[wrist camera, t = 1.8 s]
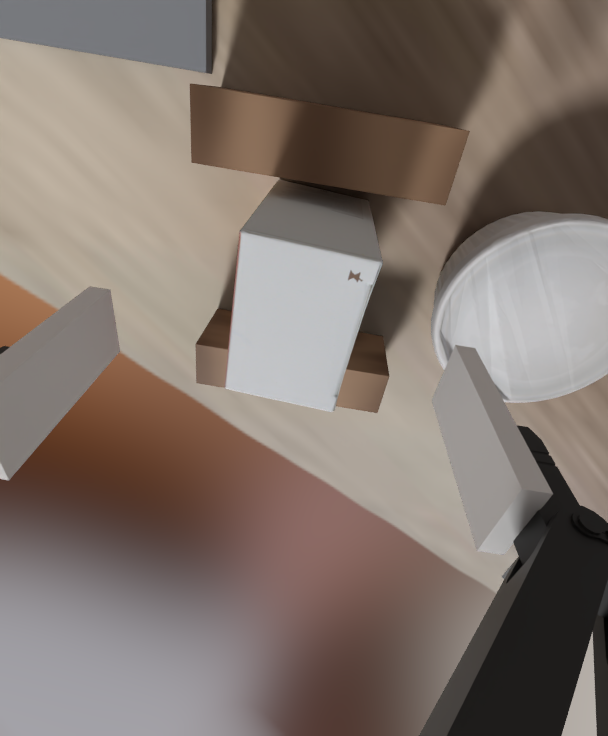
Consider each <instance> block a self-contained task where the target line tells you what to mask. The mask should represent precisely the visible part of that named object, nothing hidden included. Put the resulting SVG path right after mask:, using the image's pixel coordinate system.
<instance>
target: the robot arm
mask: <svg viewBox="0 0 608 736" xmlns="http://www.w3.org/2000/svg"><path fill="white" fill-rule="evenodd" d="M119 352H120V347H119V341H118V335H117V329H116V322H115V316H114V310H113V304H112V297H111V291H110V290H109V289H103V288H97V287H91V286H90V287H88V288H87V289H86V290H84V291H83V292H82V293H80V294H79V295H78V296H76V297H75V298H74V299H73V300H71V301H70V302H69V303H67V304H66V305H65V306H63V307H62V308H61V309H59V310H58V311H57V312H56V313H54V314H53V315H52V316H50V317H49V318H48V319H46V320H45V321H44V322H42V323H41V324H40V325H38V326H37V327H36V328H34V329H33V330H32V331H31V332H29V333H28V334H27V335H25V336H24V337H23V338H21V339H20V340H19V341H17V342H16V343H15V344H14V345H12V346H11V347H6V346H3V347H1V348H0V479H4V480H9V479H10V478H11V477H12V476H13V475H14V474H15V472H16V471H17V470H18V469H19V468H20V467H21V466H22V464H23V463H24V462H25V461H26V460H27V459H28V457H29V456H30V455H31V454H32V453H33V451H34V450H35V449H36V448H37V447H38V445H40V443H41V442H42V441H43V440H44V439H45V438H46V436H47V435H48V434H49V433H50V432H51V431H52V430H53V428H54V427H55V426H56V425H57V424H58V423H59V421H60V420H61V419H62V418H63V417H64V416H65V414H66V413H67V412H68V411H69V410H70V409H71V407H72V406H73V405H74V404H75V403H76V401H78V399H79V398H80V397H81V396H82V395H83V394H84V392H85V391H86V390H87V389H88V388H89V387H90V385H91V384H92V383H93V382H94V381H95V379H96V378H97V377H98V376H99V375H100V374H101V373H102V372H103V370H104V369H105V368H106V367H107V366H108V365H109V363H110V362H111V361H112V360H113V359H114V358H115V356H116V355H117V354H118V353H119ZM432 403H433V406H434V409H435V413H436V416H437V419H438V423H439V426H440V429H441V433H442V436H443V439H444V443H445V446H446V449H447V453H448V456H449V459H450V463H451V466H452V469H453V473H454V476H455V479H456V483H457V486H458V489H459V493H460V496H461V499H462V503H463V506H464V509H465V512H466V516H467V519H468V522H469V526H470V529H471V532H472V536H473V539H474V542H475V546H476V549H477V551H481V552H488V553H494V554H501V555H504V554H505V553H506V552H507V550H508V549H509V548H510V547H511V545H512V544H513V543H514V545H515V547H516V550H517V553H518V555H519V557H518V558H517V559H516V560H515V562H514V563H513V564H512V565H511V566H510V567H509V569H508V570H507V571H506V572H505V573H504V575H503V576H502V577H503V578H504V581H503V583H502V585H501V587H500V589H499V590H498V592H497V594H496V596H495V598H494V600H493V601H492V603H491V605H490V607H489V609H488V610H487V612H486V614H485V616H484V618H483V620H482V621H481V623H480V625H479V627H478V629H477V631H476V633H475V634H474V636H473V638H472V640H471V642H470V643H469V645H468V647H467V649H466V651H465V653H464V655H463V656H462V658H461V660H460V662H459V664H458V666H457V667H456V669H455V671H454V673H453V675H452V677H451V678H450V680H449V682H448V684H447V686H446V687H445V690H444V691H443V693H442V695H441V697H440V699H439V700H438V702H437V704H436V706H435V708H434V709H433V711H432V713H431V715H430V717H429V719H428V720H427V722H426V724H425V726H424V728H423V730H422V731H421V733H420V735H419V736H561V735H562V731H563V728H564V725H565V721H566V718H567V715H568V711H569V708H570V705H571V701H572V698H573V694H574V691H575V688H576V684H577V681H578V678H579V674H580V671H581V668H582V664H583V661H584V657H585V654H586V651H587V648H588V644H589V641H590V637H591V634H592V631H593V647H594V673H595V695H596V696H595V697H596V720H597V736H608V523H607V522H606V521H605V520H604V519H603V518H602V517H600V516H599V515H598V514H596V513H595V512H594V511H592V510H590V509H588V508H586V507H584V506H580V505H579V503H578V502H577V500H576V498H575V497H574V495H573V493H572V492H571V490H570V488H569V486H568V485H567V483H566V481H565V480H564V478H563V476H562V474H561V473H560V471H559V469H558V468H557V467H556V466H555V462H554V461H553V459H552V457H551V456H549V452H548V450H547V449H546V447H545V445H544V444H543V442H542V440H541V439H540V438H539V437H538V436H537V435H536V434H535V433H534V432H533V431H532V430H531V429H529V428H528V427H523V426H517V425H516V423H515V422H514V420H513V418H512V416H511V414H510V412H509V410H508V408H507V407H506V405H505V403H504V401H503V399H502V397H501V395H500V394H499V392H498V390H497V388H496V386H495V384H494V382H493V380H492V379H491V377H490V375H489V373H488V371H487V369H486V367H485V366H484V364H483V362H482V360H481V358H480V356H479V354H478V352H477V351H476V349H475V348H472V347H465V346H459V345H455V347H454V349H453V352H452V354H451V356H450V359H449V361H448V363H447V366H446V368H445V370H444V373H443V375H442V377H441V380H440V382H439V384H438V387H437V389H436V391H435V394H434V396H433V398H432Z"/></svg>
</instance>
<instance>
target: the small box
mask: <svg viewBox="0 0 608 736" xmlns="http://www.w3.org/2000/svg"><path fill="white" fill-rule="evenodd" d="M382 264H383V260H382V257H381V252H380V248H379V244H378V239H377V235H376V230H375V225H374V221H373V217H372V213H371V209H370V205H369V201H368V200H364V199H359V198H355V197H351V196H347V195H343V194H338V193H334V192H330V191H326V190H322V189H318V188H314V187H309V186H305V185H301V184H297V183H292V182H288V181H284V180H278V181H277V183H276V184H275V185H274V186H273V188H272V189H271V190H270V192H269V193H268V194H267V196H266V197H265V198H264V200H263V201H262V202H261V204H260V205H259V206H258V208H257V209H256V210H255V212H254V213H253V214H252V216H251V217H250V218H249V220H248V221H247V222H246V223H245V225H244V226H243V227H242V229H241V230H240V232H239V244H238V254H237V264H236V274H235V285H234V295H233V305H232V316H231V325H230V335H229V346H228V356H227V365H226V377H225V385H224V388H226V389H229V390H234V391H238V392H242V393H246V394H251V395H255V396H260V397H265V398H269V399H274V400H278V401H283V402H288V403H292V404H297V405H302V406H306V407H311V408H315V409H320V410H324V411H329V412H333V411H334V410H335V407H336V403H337V399H338V395H339V391H340V387H341V384H342V381H343V377H344V374H345V371H346V368H347V365H348V362H349V359H350V356H351V353H352V349H353V346H354V343H355V340H356V337H357V334H358V331H359V328H360V325H361V322H362V319H363V316H364V313H365V310H366V307H367V304H368V301H369V298H370V295H371V293H372V290H373V287H374V285H375V282H376V280H377V277H378V274H379V272H380V269H381V267H382Z"/></svg>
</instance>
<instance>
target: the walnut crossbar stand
mask: <svg viewBox="0 0 608 736" xmlns="http://www.w3.org/2000/svg"><path fill="white" fill-rule="evenodd" d="M190 111H191V156H192V163H197V164H203V165H209V166H215V167H221V168H227V169H233V170H239V171H245V172H251V173H257V174H262V175H268V176H274V177H280V178H286V179H292V180H298V181H304V182H310V183H316V184H322V185H327V186H333V187H339V188H345V189H351V190H357V191H363V192H369V193H375V194H381V195H387V196H392V197H398V198H404V199H410V200H416V201H422V202H428V203H434V204H440V205H446V202H447V199H448V196H449V193H450V190H451V187H452V184H453V181H454V178H455V175H456V172H457V169H458V165H459V162H460V159H461V156H462V153H463V150H464V147H465V144H466V141H467V138H468V135H469V132H470V131H466V130H462V129H458V128H454V127H450V126H446V125H440V124H434V123H428V122H422V121H417V120H411V119H405V118H399V117H393V116H387V115H381V114H375V113H370V112H364V111H358V110H352V109H346V108H340V107H334V106H329V105H323V104H317V103H311V102H305V101H299V100H293V99H287V98H282V97H276V96H270V95H264V94H258V93H252V92H246V91H240V90H235V89H229V88H223V87H215V86H206V85H198V84H190ZM231 316H232V311H229V310H223V309H217V311H216V312H215V314H214V316H213V317H212V319H211V320H210V322H209V324H208V325H207V327H206V328H205V330H204V332H203V333H202V335H201V337H200V338H199V340H198V341H197V343H196V379H197V383H199V384H205V385H211V386H217V387H224V385H225V377H226V365H227V356H228V346H229V335H230V325H231ZM388 379H389V371H388V365H387V359H386V352H385V346H384V340H383V336H379V335H373V334H367V333H361V332H358V334H357V337H356V340H355V343H354V346H353V349H352V353H351V356H350V359H349V362H348V365H347V368H346V371H345V374H344V377H343V381H342V384H341V387H340V391H339V395H338V399H337V403H336V406H338V407H344V408H350V409H356V410H362V411H368V412H374V413H377V412H378V409H379V406H380V403H381V400H382V397H383V394H384V391H385V388H386V385H387V382H388Z"/></svg>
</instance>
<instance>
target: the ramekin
mask: <svg viewBox="0 0 608 736" xmlns="http://www.w3.org/2000/svg"><path fill="white" fill-rule="evenodd" d="M431 336H432V342H433V347H434V350H435V353H436V356H437V358H438V360H439V362H440V364H441V366H442V368H443V369H444V370H445V368H446V366H447V363H448V361H449V359H450V356H451V354H452V352H453V349H454V347H455V345H459V346H465V347H472V348H475V349H476V351H477V352H478V354H479V356H480V358H481V360H482V362H483V364H484V366H485V367H486V369H487V371H488V373H489V375H490V377H491V379H492V380H493V382H494V384H495V386H496V388H497V390H498V392H499V394H500V395H501V397H502V399H503V401H504V402H512V403H523V402H536V401H542V400H548V399H552V398H556V397H560V396H563V395H566V394H569V393H571V392H574V391H577V390H579V389H581V388H584V387H585V386H587V385H590V384H592V383H594V382H595V381H597V380H599V379H600V378H602V377H603V376H605V375H607V374H608V219H606V218H602V217H599V216H594V215H587V214H559V213H553V212H541V211H536V212H524V213H520V214H515V215H510V216H508V217H505V218H501V219H499V220H497V221H495V222H493V223H490V224H488V225H486V226H485V227H484V228H482V229H480V230H478V231H476V232H475V233H474V234H473V235H472V236H470V237H469V238H467V239H466V240H465V241H464V242H463V243H462V244H461V245H460V246H459V247H458V248H457V250H456V251H455V252H454V253H453V254H452V255H451V257H450V259H449V260H448V261H447V262H446V264H445V267H444V269H443V270H442V271H441V273H440V276H439V279H438V281H437V286H436V290H435V299H434V309H433V313H432V319H431Z"/></svg>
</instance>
